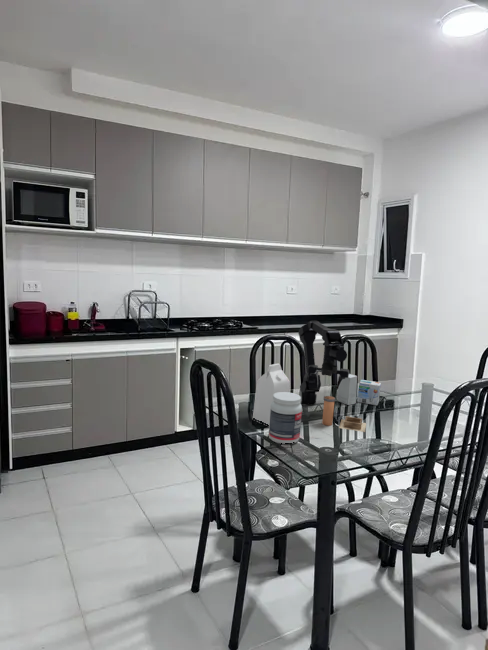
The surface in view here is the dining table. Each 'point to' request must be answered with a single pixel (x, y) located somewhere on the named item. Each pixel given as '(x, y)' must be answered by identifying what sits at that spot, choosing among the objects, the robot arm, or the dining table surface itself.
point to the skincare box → (347, 390)
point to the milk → (269, 391)
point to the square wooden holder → (353, 424)
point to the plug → (328, 410)
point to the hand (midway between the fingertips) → (326, 388)
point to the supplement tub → (285, 418)
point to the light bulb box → (369, 392)
